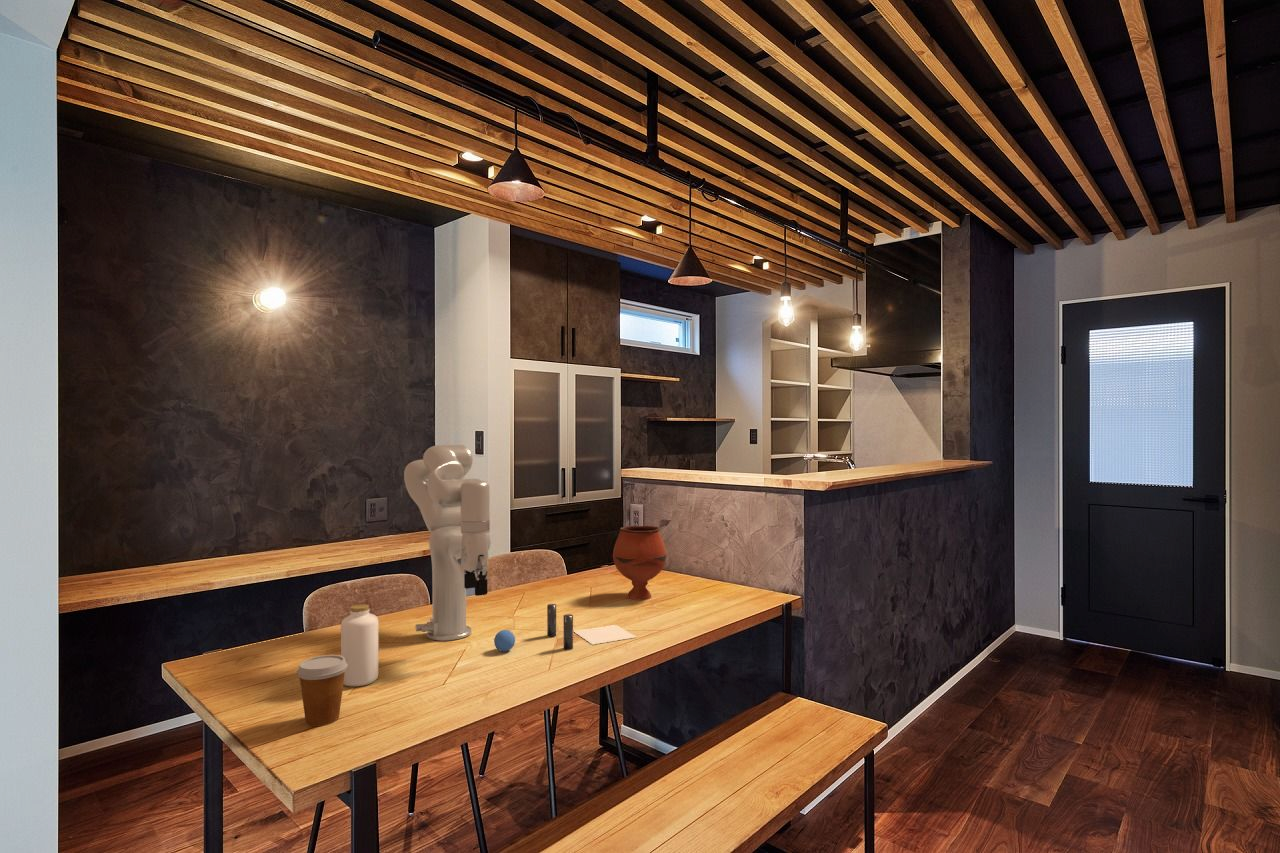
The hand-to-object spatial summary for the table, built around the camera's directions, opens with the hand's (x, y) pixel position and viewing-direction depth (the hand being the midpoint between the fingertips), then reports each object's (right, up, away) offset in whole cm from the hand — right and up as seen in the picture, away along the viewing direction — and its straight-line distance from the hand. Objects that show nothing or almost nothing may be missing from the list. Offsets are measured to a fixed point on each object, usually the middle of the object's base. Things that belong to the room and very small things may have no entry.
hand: (475, 591), depth 178 cm
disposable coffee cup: (-22, -17, -40) cm, 49 cm away
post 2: (+24, -17, +5) cm, 30 cm away
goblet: (+44, -18, +62) cm, 78 cm away
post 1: (+18, -17, +16) cm, 30 cm away
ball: (+7, -14, +3) cm, 16 cm away
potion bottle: (-23, -17, -19) cm, 34 cm away
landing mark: (+33, -17, +17) cm, 42 cm away
